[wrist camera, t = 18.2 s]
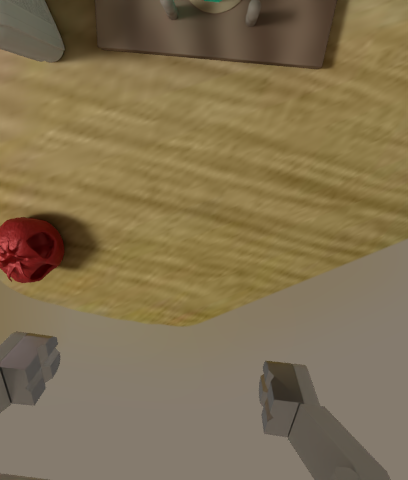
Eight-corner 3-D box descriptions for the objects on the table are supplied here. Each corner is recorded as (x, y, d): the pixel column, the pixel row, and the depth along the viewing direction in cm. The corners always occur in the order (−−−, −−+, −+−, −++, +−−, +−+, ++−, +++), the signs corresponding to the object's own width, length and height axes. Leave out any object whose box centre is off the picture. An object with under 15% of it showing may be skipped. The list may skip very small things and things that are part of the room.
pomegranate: (13, 256, 47) (-35, 287, 38) (12, 202, 42) (-43, 224, 34) (69, 273, 47) (34, 307, 38) (74, 221, 43) (35, 247, 34)
